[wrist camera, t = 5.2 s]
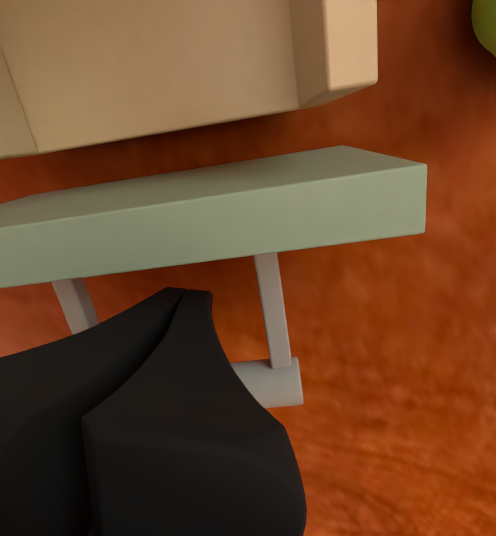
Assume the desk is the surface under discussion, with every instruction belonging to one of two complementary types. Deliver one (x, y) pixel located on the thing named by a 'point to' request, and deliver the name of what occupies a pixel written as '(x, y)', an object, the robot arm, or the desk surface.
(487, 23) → the apple
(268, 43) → the drawer
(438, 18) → the desk surface
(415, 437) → the desk surface
